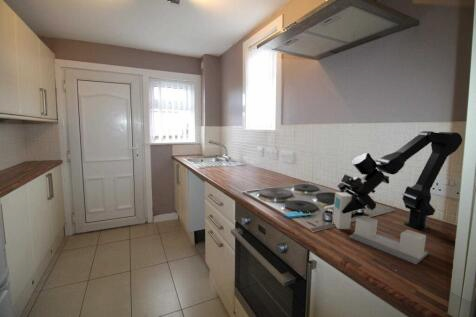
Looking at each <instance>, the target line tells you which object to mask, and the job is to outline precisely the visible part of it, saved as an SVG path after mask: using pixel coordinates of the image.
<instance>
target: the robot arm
mask: <svg viewBox="0 0 476 317" xmlns="http://www.w3.org/2000/svg"><path fill="white" fill-rule="evenodd" d="M463 140H464V139H463V137H462V135H461V134H460V133H459V132H454V131H453V132H452V131H439V132H435V131H428V130H427V131H426V130H423V131H421V132H419V133H418V134H417V136H415V137H414V138H412V139H411V140H409V141H408V142H406V144H404V145H402V146H401V147H400V148H399V149H397V150H396V151H395V152H392V153H388V154H385V155H384V156H382V157H380V158H379V159H378V160H377V159H375V160H374V158H373V157H372V155H371V154H370V153H369V152H363V154H359V155H357V156H355V157H354V158H353V159H352V161H351V164H352V165H353V166H354V168H355V169H356V170H357V172H359V173H360V175H364V176H363V177H362V178H360V177H358V176H354V177H352V176H350V175H347V174H344V175H343V177H342V179H341V181H340V183H339V184H338V185H337V188H338V189H339V192H344V193H348V194H350V195H352V199H351V201H350V203H349V204H348V205H347V206H346V207H345V208H344V209H343V210H342V213H343V214H345V213H348V212H352V211H355V210H359V209H367V210H370V211H374V210H375V209H376V208H377V203H376V202H375V201H374V200H373V198H372V197H371V196H370V194H371V193H372V194H375V192H376V190H375V189H376V188H377V187H379V186H380V185H381V184H382V183H385V184H388V185H389V184H390V176H388V175H385V174H389V175H396V174H397V173H399V172H400V171H401V170H402V168H404V166H405V163H406V161H408V160H409V159H410V158H412V157H413V156H414V155H416V154H417V153H418V152H420V151H422V150H423V149H424V148H426V146H428V145H429V144H430V146H431V153H430V155H429V157H428V159H427V161H426V163H425V165H424V167H423V169H422V171H421V173H420V175H419V177H418V178H417V181H416V182H415V184H414V185H413V186H410V185H409V186H406V188H405V190H404V192H403V193H402V194H401V195H402V201H403V203H404V207H405V209H408V210H409V213H408V215H409V216H408V221H406V222H404V225H405V226H408V227H410V228H411V227H412V228H414V229H417V230H420V231H424V230H427V229H429V228H430V227H431V226H430V225H427V221H428V217H430V216H434V214H435V212H436V210H435V208H434V207H433V206H432V204H430V202H431V200H432V195H431V189H432V187H433V185H434V183H435V182H436V180H437V178H438V175H440V174H439V173H440V172H441V170H442V168H443V166H444V164H445V162H446V160H447V158H448V157H449V156H450V155H452V154H453V153H455V152H456V151H457V150H458V148H459V147H460V146H461V145H462V143H463ZM384 173H385V174H384Z"/></svg>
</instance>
